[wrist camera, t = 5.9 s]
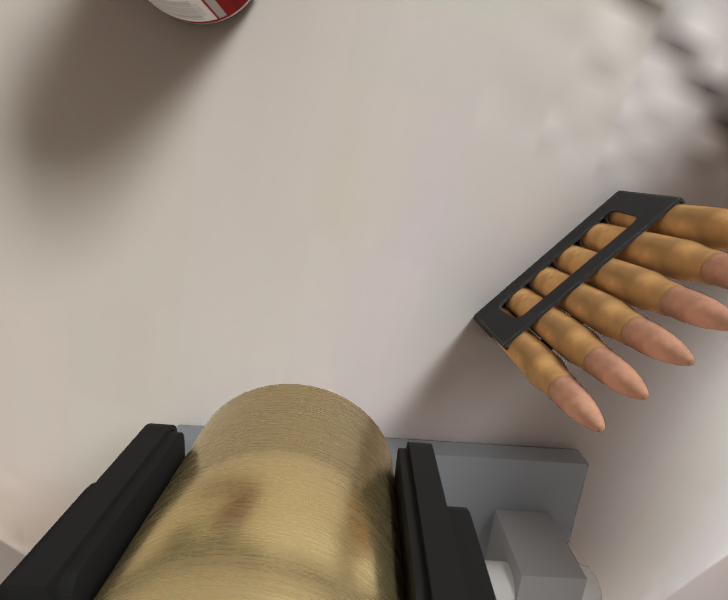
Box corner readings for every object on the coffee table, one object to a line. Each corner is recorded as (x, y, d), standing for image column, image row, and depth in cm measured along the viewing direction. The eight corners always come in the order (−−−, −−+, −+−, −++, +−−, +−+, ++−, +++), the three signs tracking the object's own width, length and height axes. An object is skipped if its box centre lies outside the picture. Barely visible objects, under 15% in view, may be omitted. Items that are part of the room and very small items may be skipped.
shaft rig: (576, 449, 28) (635, 523, 22) (541, 590, 32) (585, 688, 26) (179, 424, 28) (128, 494, 22) (185, 571, 31) (143, 668, 25)
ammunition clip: (491, 337, 26) (595, 464, 15) (472, 317, 26) (563, 430, 14) (638, 214, 24) (892, 247, 13) (619, 189, 24) (863, 201, 12)
